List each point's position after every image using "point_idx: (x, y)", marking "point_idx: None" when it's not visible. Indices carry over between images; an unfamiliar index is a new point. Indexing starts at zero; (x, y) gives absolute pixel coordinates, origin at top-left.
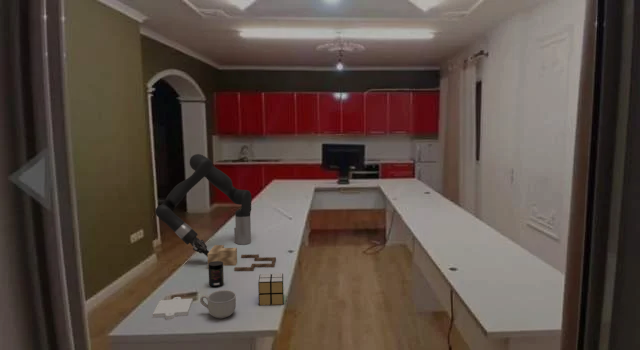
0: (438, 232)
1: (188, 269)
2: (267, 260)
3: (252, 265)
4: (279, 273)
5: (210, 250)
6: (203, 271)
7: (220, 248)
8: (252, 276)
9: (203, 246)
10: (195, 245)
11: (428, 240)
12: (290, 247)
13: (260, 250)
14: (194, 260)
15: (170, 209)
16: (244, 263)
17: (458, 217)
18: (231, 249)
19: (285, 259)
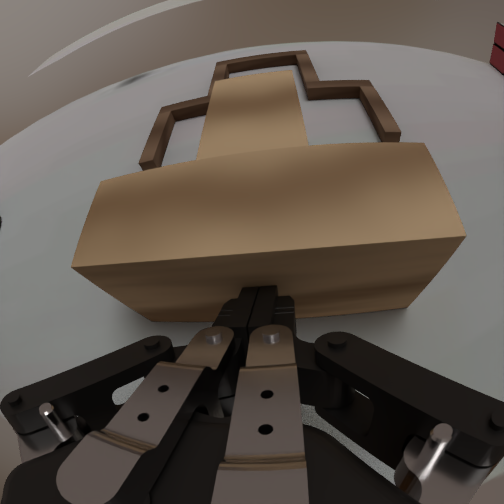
0: (127, 21)
1: None
2: None
3: (335, 84)
4: (502, 24)
5: (310, 245)
6: (457, 321)
7: (215, 163)
8: (426, 92)
9: (214, 376)
10: (443, 493)
11: (157, 12)
12: (97, 95)
13: (82, 147)
14: None
15: None
16: None
17: (82, 38)
18: (260, 89)
19: (217, 60)
